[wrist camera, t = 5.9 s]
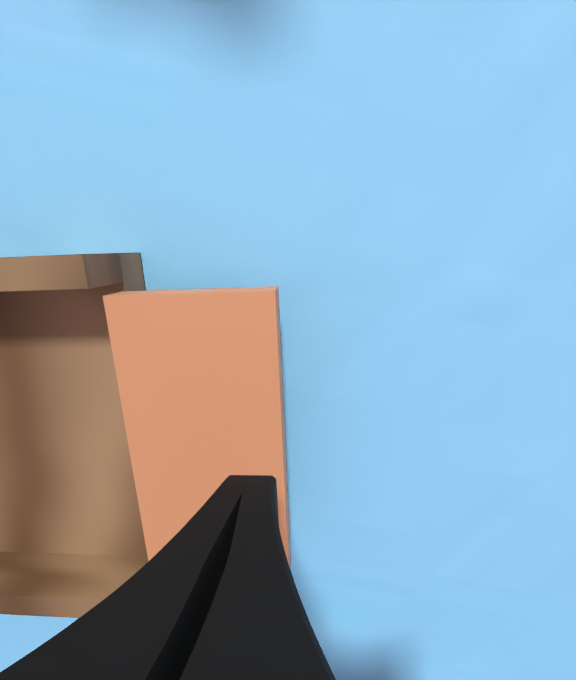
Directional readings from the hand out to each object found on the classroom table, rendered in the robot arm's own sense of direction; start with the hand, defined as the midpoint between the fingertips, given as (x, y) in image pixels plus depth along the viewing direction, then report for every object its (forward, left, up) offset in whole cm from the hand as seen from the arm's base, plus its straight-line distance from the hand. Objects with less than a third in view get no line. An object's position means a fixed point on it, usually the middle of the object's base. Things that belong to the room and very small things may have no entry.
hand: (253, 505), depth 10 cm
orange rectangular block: (-5, +2, -4) cm, 6 cm away
